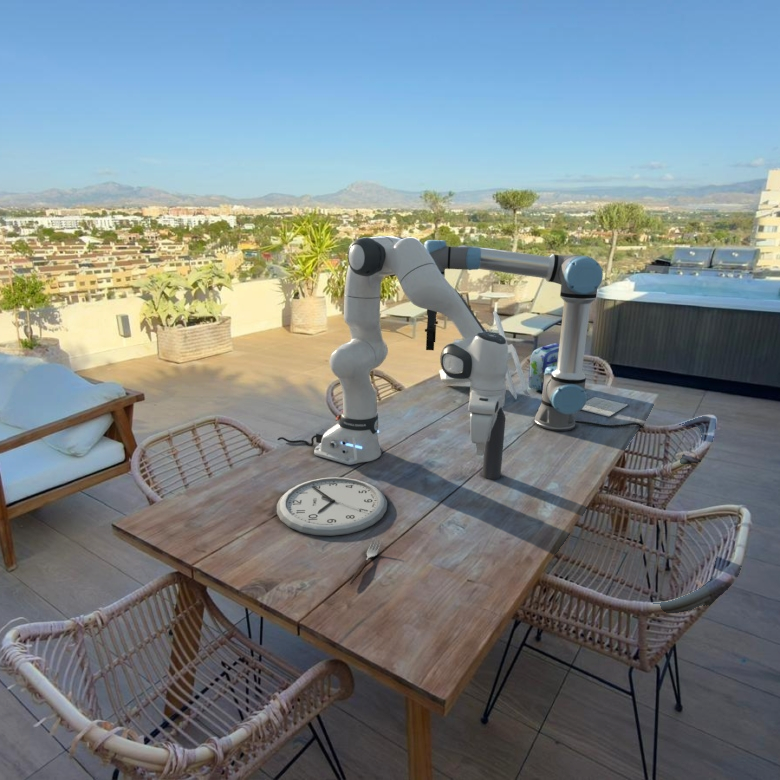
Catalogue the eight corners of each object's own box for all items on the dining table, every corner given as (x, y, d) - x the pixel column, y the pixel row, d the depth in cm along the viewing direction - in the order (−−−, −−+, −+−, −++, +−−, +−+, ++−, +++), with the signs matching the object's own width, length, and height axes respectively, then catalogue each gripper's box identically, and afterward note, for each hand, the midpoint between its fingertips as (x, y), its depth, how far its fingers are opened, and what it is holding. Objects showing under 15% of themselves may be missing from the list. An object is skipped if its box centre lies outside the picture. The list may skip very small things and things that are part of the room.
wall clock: (392, 527, 129) (268, 531, 127) (391, 533, 130) (269, 537, 127) (383, 473, 158) (282, 475, 155) (383, 478, 158) (282, 480, 156)
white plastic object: (461, 429, 252) (437, 405, 227) (444, 352, 274) (420, 323, 250) (535, 404, 240) (518, 377, 215) (510, 326, 262) (492, 293, 237)
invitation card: (608, 416, 214) (573, 407, 224) (608, 416, 214) (573, 408, 224) (628, 404, 229) (594, 396, 238) (628, 405, 229) (594, 397, 238)
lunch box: (544, 395, 239) (549, 351, 233) (524, 390, 247) (528, 347, 240) (571, 384, 257) (577, 343, 251) (552, 380, 264) (556, 339, 258)
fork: (344, 585, 111) (344, 577, 110) (372, 544, 125) (372, 537, 125) (355, 588, 110) (355, 580, 109) (382, 546, 124) (382, 539, 124)
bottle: (479, 471, 164) (485, 396, 157) (497, 470, 165) (503, 395, 157) (485, 479, 159) (491, 402, 151) (502, 478, 160) (509, 401, 152)
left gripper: (481, 384, 143) (478, 431, 147) (467, 407, 124) (463, 460, 128) (505, 387, 141) (501, 434, 145) (493, 410, 122) (489, 464, 126)
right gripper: (424, 282, 194) (422, 338, 201) (420, 289, 171) (418, 353, 177) (444, 282, 193) (442, 339, 200) (443, 290, 170) (440, 354, 176)
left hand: (483, 447), depth 136 cm, fingers open, 8 cm apart
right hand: (430, 345), depth 188 cm, fingers open, 13 cm apart
